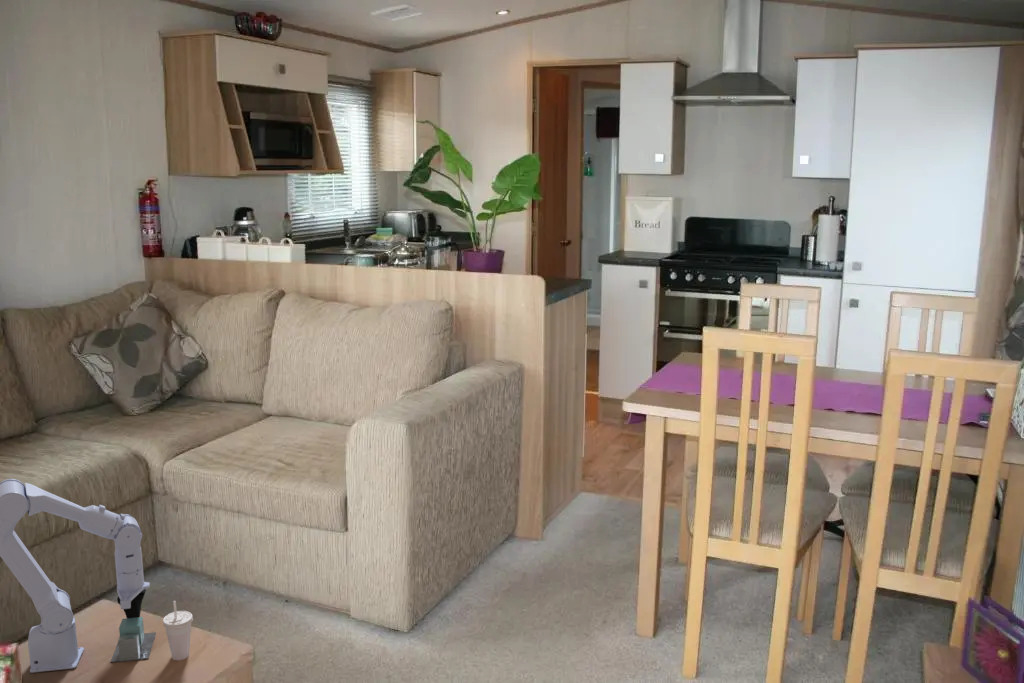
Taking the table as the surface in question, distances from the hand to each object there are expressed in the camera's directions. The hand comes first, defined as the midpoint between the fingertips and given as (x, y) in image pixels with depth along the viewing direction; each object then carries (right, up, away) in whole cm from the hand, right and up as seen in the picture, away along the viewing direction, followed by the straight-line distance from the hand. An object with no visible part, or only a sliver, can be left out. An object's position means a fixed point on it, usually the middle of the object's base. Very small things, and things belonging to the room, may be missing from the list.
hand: (134, 621), depth 208 cm
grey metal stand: (+1, -6, -2) cm, 6 cm away
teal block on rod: (+1, -4, -2) cm, 5 cm away
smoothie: (+12, -7, -4) cm, 15 cm away
